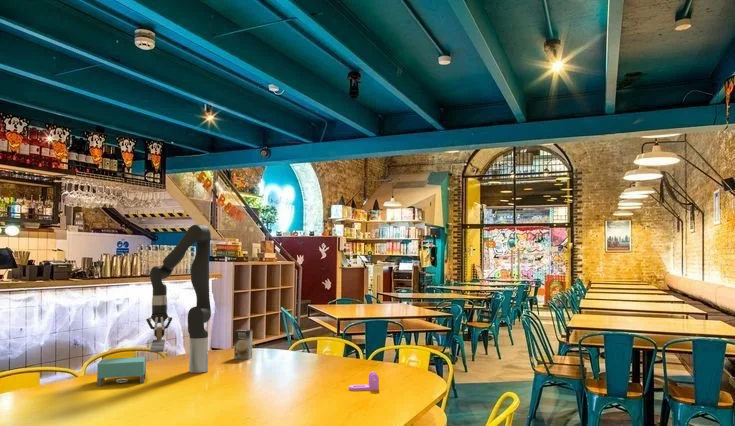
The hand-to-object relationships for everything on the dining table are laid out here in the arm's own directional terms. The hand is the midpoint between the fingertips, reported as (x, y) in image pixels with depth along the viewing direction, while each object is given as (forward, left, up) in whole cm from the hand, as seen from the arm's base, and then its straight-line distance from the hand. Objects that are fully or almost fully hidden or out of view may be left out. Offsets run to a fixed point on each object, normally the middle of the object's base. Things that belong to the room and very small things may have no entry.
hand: (159, 336), depth 313 cm
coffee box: (-45, -16, -17) cm, 51 cm away
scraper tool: (0, +9, -3) cm, 10 cm away
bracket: (-90, +77, -17) cm, 120 cm away
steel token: (+15, +27, -17) cm, 36 cm away
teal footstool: (+15, +27, -17) cm, 35 cm away
